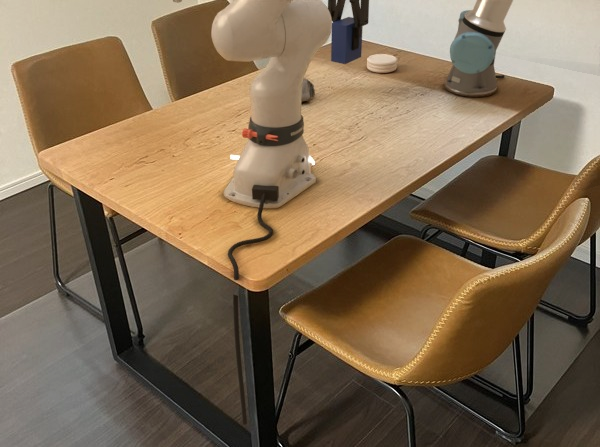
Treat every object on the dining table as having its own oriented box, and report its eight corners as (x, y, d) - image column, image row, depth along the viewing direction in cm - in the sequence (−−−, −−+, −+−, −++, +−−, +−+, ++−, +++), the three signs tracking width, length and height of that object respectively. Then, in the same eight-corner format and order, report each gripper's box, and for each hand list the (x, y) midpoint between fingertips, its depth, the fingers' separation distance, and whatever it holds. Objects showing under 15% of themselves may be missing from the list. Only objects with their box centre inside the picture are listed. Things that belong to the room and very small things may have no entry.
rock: (319, 98, 184) (319, 74, 180) (294, 107, 178) (293, 83, 175) (285, 87, 193) (284, 64, 190) (261, 95, 187) (259, 72, 184)
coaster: (364, 64, 210) (364, 54, 208) (392, 63, 211) (393, 52, 209) (369, 74, 202) (370, 63, 200) (399, 72, 203) (400, 62, 201)
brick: (361, 57, 185) (363, 19, 179) (345, 64, 179) (346, 25, 173) (347, 54, 188) (348, 16, 182) (330, 61, 182) (331, 22, 176)
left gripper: (197, -60, 142) (203, 2, 150) (140, -67, 153) (148, -9, 160) (176, -57, 138) (183, 7, 145) (119, -64, 149) (128, -4, 156)
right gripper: (385, -37, 167) (380, 49, 179) (330, -43, 176) (329, 39, 189) (370, -32, 162) (365, 56, 175) (314, -39, 171) (314, 44, 184)
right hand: (346, 47), depth 182 cm, fingers closed on brick, 5 cm apart
